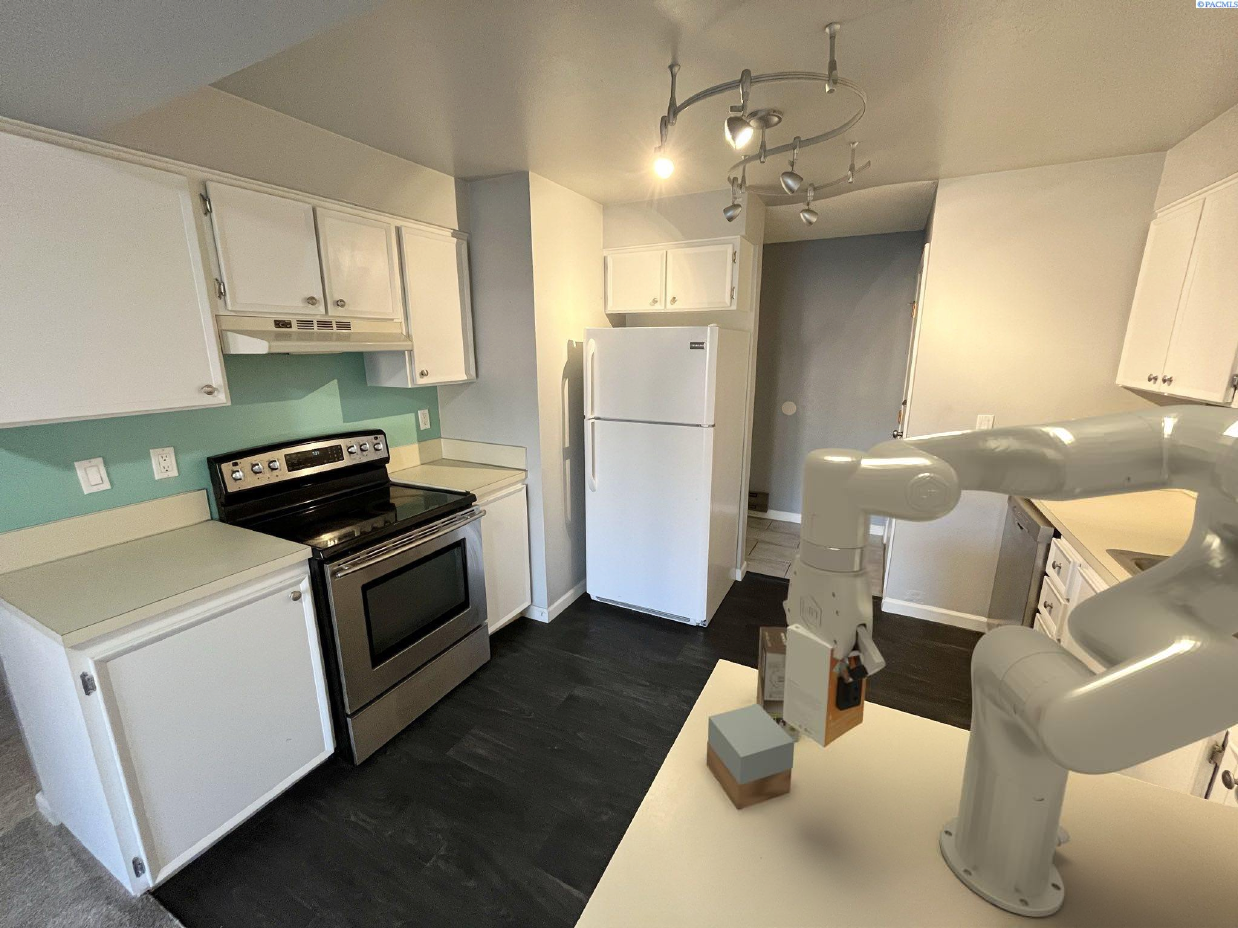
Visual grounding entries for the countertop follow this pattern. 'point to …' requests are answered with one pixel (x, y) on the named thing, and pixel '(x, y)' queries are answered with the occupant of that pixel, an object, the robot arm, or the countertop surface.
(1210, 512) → the robot arm
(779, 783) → the tower base block
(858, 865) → the countertop surface
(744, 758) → the tower top block
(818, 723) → the small box
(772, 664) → the coffee box
